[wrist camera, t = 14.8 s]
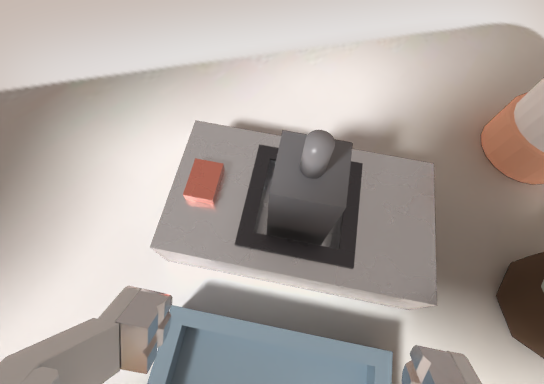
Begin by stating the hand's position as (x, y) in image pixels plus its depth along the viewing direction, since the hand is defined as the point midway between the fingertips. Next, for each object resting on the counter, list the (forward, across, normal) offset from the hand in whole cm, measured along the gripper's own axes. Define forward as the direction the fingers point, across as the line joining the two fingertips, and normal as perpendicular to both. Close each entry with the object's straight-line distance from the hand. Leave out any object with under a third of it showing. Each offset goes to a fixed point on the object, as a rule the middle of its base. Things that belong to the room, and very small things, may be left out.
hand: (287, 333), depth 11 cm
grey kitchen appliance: (+15, 0, +3) cm, 15 cm away
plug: (+14, 0, +2) cm, 14 cm away
